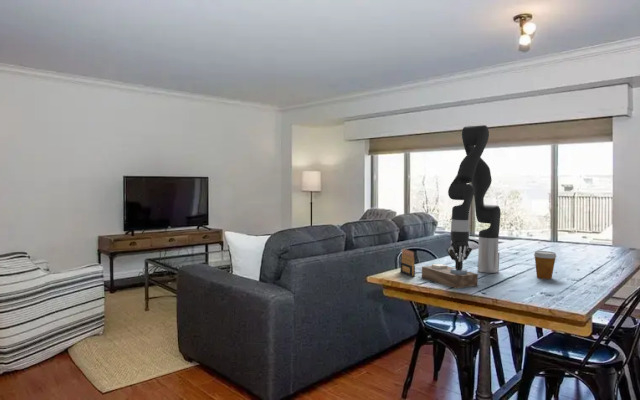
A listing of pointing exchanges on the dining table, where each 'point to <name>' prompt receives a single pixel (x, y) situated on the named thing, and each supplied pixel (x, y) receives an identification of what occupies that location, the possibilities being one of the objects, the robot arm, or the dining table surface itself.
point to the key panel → (450, 277)
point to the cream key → (439, 266)
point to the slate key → (459, 271)
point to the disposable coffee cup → (544, 264)
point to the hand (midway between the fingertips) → (458, 269)
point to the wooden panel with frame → (408, 263)
